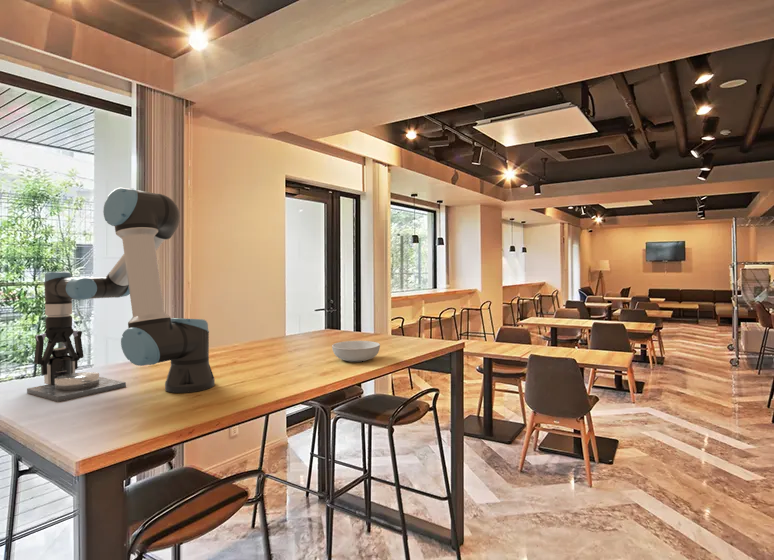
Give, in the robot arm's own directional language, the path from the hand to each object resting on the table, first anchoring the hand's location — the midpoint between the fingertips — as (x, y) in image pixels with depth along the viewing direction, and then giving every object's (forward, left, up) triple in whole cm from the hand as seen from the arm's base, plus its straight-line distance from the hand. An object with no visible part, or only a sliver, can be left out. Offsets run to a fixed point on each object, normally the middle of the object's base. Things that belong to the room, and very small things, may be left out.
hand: (60, 381), depth 156 cm
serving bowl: (-69, -83, -1) cm, 108 cm away
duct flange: (-16, +2, -1) cm, 16 cm away
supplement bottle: (0, 0, -1) cm, 1 cm away
